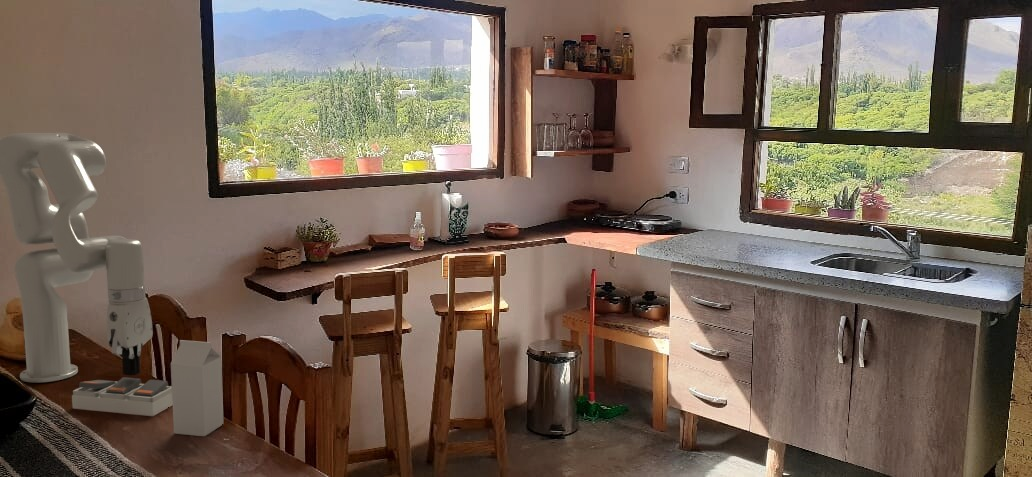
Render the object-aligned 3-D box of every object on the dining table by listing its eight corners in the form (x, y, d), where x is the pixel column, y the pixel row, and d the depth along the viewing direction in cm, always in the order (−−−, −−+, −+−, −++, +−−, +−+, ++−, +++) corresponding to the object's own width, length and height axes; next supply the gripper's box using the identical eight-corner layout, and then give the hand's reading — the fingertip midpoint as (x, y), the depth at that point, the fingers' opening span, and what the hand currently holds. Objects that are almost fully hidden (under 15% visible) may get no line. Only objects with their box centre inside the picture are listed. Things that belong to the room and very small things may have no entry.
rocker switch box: (72, 408, 183) (71, 391, 182) (98, 396, 191) (97, 379, 190) (153, 416, 179) (152, 398, 178) (176, 403, 187) (175, 386, 186)
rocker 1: (79, 387, 183) (79, 381, 183) (97, 384, 189) (98, 379, 189) (96, 388, 182) (96, 383, 182) (114, 385, 188) (115, 380, 188)
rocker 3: (134, 397, 181) (133, 392, 180) (150, 383, 186) (149, 379, 186) (152, 398, 180) (151, 394, 179) (168, 384, 185) (167, 380, 185)
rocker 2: (106, 394, 182) (106, 390, 182) (124, 381, 188) (123, 376, 187) (124, 396, 181) (123, 391, 181) (141, 382, 187) (140, 378, 186)
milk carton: (204, 437, 168) (201, 347, 165) (173, 434, 169) (169, 344, 166) (223, 424, 175) (220, 338, 172) (193, 421, 176) (189, 335, 173)
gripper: (119, 302, 176) (124, 385, 178) (162, 289, 190) (166, 365, 193) (88, 301, 177) (94, 383, 180) (133, 287, 192) (138, 363, 194)
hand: (131, 373), depth 186 cm, fingers closed
